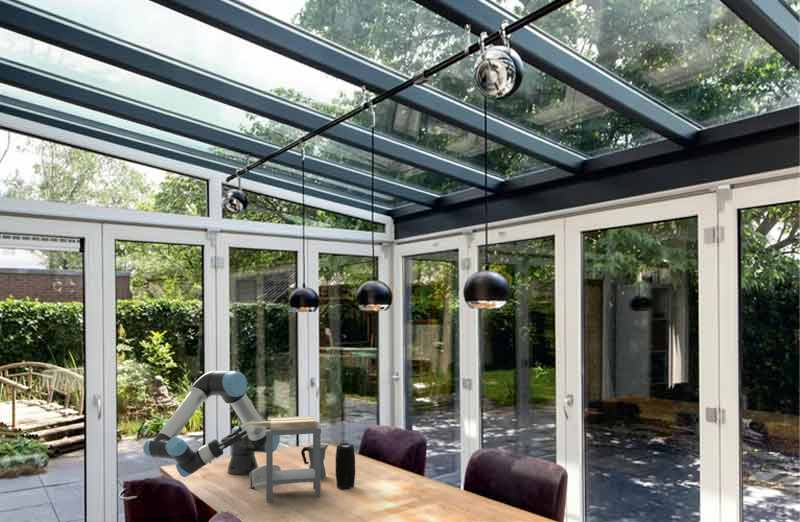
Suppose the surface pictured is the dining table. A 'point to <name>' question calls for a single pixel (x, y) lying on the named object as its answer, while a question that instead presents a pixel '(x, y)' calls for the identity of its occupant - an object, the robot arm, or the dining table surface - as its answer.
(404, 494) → the dining table surface
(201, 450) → the robot arm
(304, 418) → the cutting board
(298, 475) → the side table
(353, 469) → the portable speaker
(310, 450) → the coffeepot
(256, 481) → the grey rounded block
